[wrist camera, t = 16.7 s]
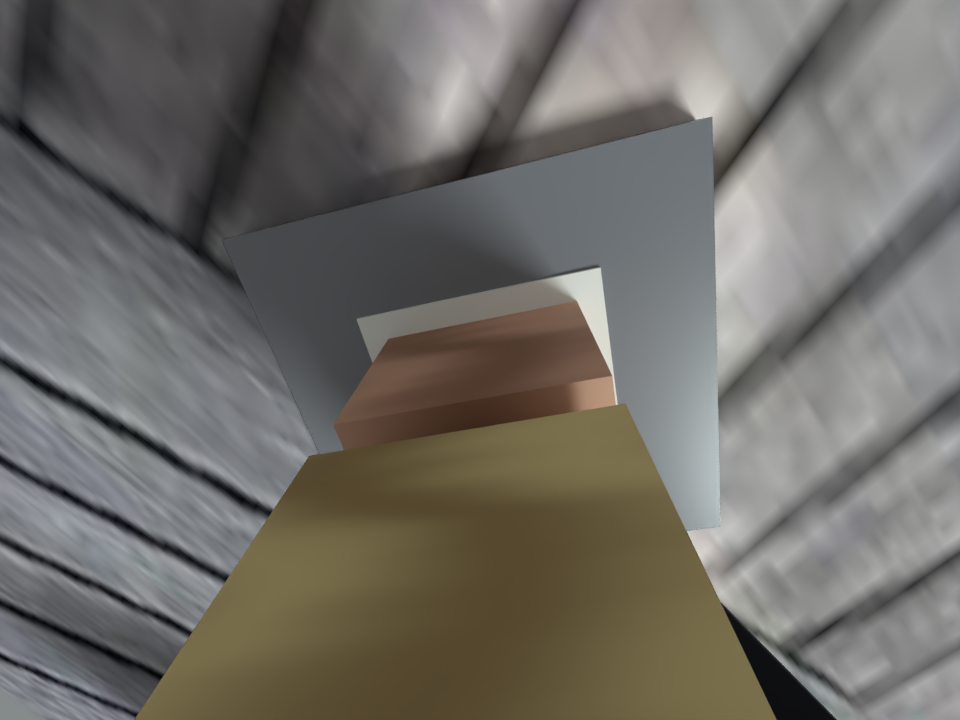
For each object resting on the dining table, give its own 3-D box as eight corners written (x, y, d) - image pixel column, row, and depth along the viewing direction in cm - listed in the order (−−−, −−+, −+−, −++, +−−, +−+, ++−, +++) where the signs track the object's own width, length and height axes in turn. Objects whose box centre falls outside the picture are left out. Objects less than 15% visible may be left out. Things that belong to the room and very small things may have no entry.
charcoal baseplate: (378, 550, 20) (372, 571, 19) (240, 235, 14) (219, 241, 13) (709, 507, 18) (721, 528, 17) (696, 119, 12) (713, 116, 11)
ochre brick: (400, 652, 11) (325, 1002, 6) (308, 455, 9) (89, 787, 4) (651, 629, 10) (768, 1013, 6) (625, 403, 8) (790, 750, 3)
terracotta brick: (437, 484, 17) (411, 608, 12) (388, 339, 14) (332, 424, 10) (600, 460, 16) (637, 584, 11) (576, 301, 13) (612, 376, 9)
